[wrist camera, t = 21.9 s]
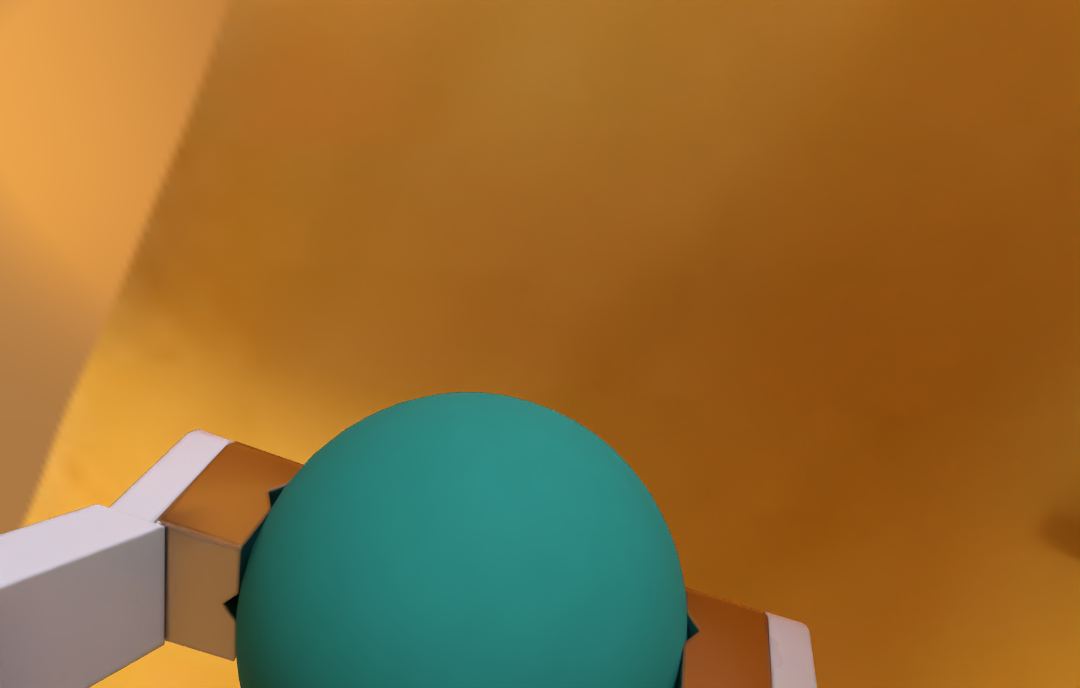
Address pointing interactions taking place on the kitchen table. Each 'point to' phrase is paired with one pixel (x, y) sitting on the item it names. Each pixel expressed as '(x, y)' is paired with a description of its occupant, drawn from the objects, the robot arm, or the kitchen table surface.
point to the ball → (463, 559)
